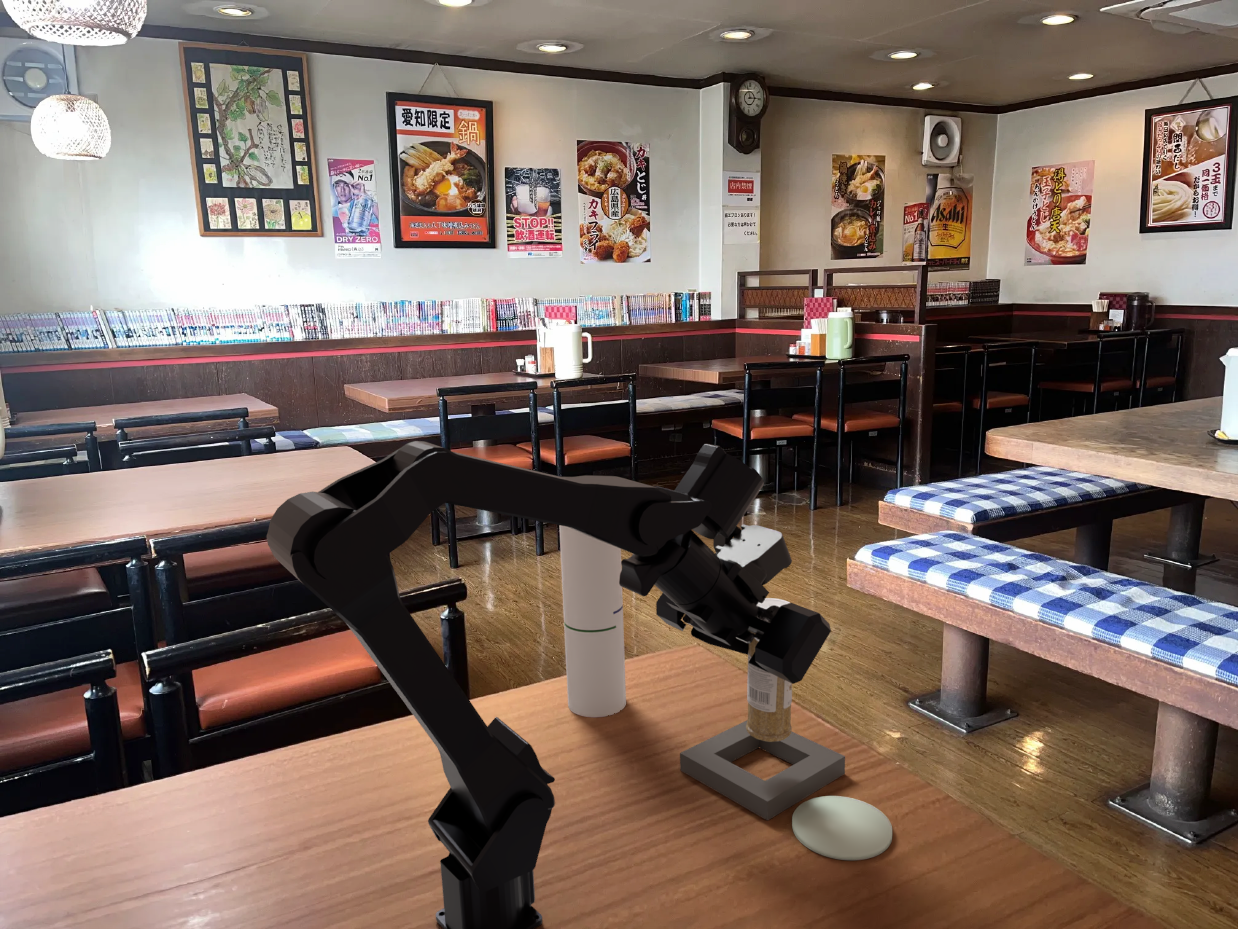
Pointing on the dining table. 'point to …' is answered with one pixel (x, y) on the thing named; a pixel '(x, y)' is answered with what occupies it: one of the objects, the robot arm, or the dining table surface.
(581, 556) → the cylindrical container
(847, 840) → the coaster
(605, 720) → the dining table surface
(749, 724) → the sprinkles bottle
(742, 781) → the holder
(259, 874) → the dining table surface
